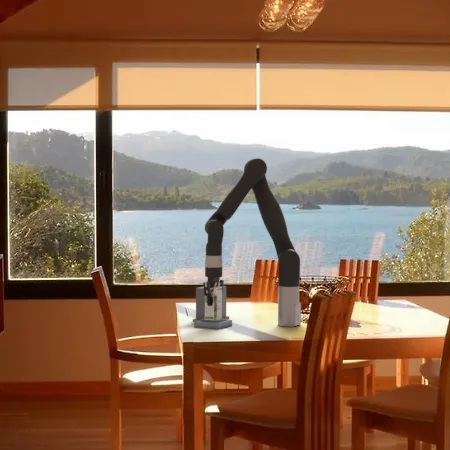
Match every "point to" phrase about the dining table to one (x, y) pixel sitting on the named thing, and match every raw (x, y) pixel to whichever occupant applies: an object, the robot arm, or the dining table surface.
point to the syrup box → (214, 305)
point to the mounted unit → (201, 304)
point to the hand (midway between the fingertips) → (213, 304)
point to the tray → (213, 324)
